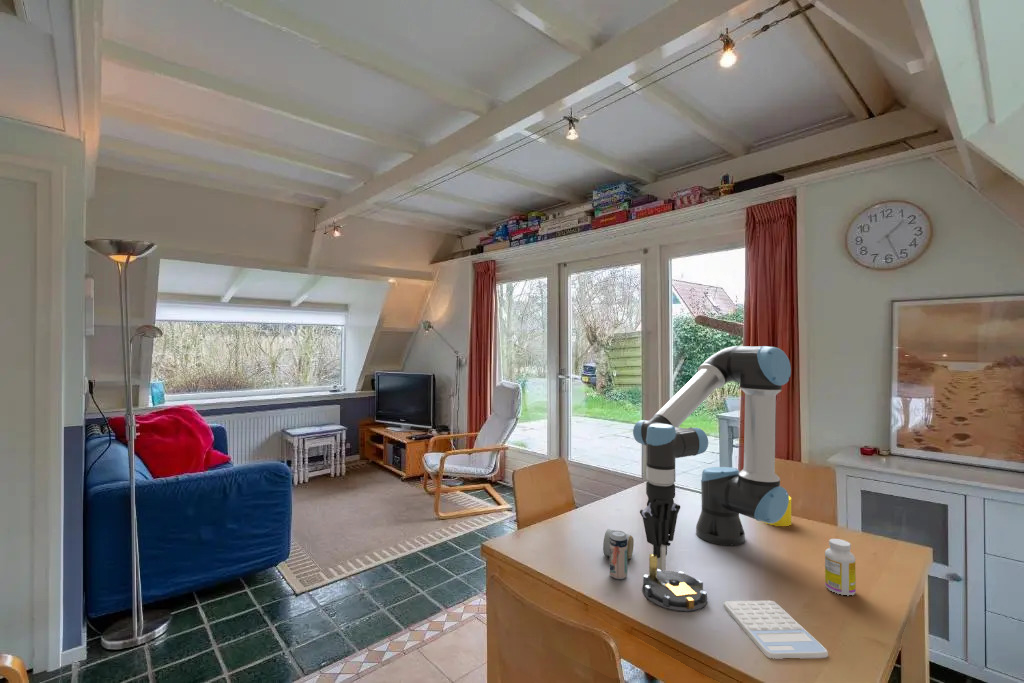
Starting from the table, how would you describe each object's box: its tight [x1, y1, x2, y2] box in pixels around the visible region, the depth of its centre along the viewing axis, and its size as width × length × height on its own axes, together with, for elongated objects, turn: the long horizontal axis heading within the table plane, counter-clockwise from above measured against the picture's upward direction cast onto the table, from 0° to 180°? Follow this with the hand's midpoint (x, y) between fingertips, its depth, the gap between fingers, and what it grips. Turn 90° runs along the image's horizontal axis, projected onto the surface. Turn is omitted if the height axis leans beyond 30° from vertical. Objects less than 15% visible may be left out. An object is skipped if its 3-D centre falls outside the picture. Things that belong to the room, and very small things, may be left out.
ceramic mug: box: [602, 528, 635, 560], centre depth 145 cm, size 11×8×8 cm
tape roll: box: [764, 495, 792, 527], centre depth 171 cm, size 10×10×9 cm
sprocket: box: [642, 553, 708, 609], centre depth 122 cm, size 16×16×8 cm
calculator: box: [723, 600, 829, 660], centre depth 107 cm, size 13×20×2 cm, turn 2°
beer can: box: [609, 530, 628, 580], centre depth 131 cm, size 5×5×12 cm
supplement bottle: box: [824, 538, 857, 597], centre depth 124 cm, size 7×7×13 cm
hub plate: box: [642, 584, 708, 613], centre depth 122 cm, size 16×16×1 cm
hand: (660, 568), depth 127 cm, fingers closed
